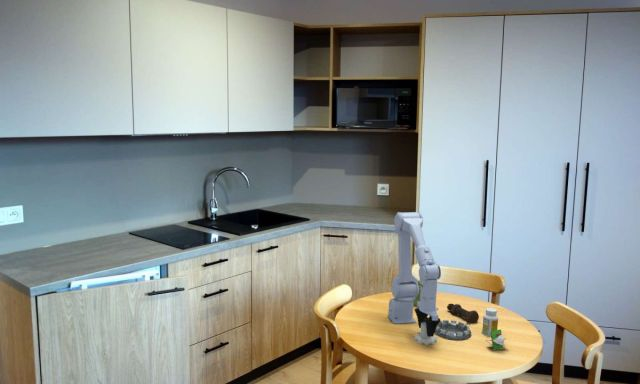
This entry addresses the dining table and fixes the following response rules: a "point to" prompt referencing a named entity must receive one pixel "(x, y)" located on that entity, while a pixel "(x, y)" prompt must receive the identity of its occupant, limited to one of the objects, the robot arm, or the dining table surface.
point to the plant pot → (418, 295)
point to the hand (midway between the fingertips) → (426, 331)
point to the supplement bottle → (490, 321)
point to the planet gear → (424, 336)
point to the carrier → (453, 330)
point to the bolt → (463, 313)
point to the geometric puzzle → (496, 339)
